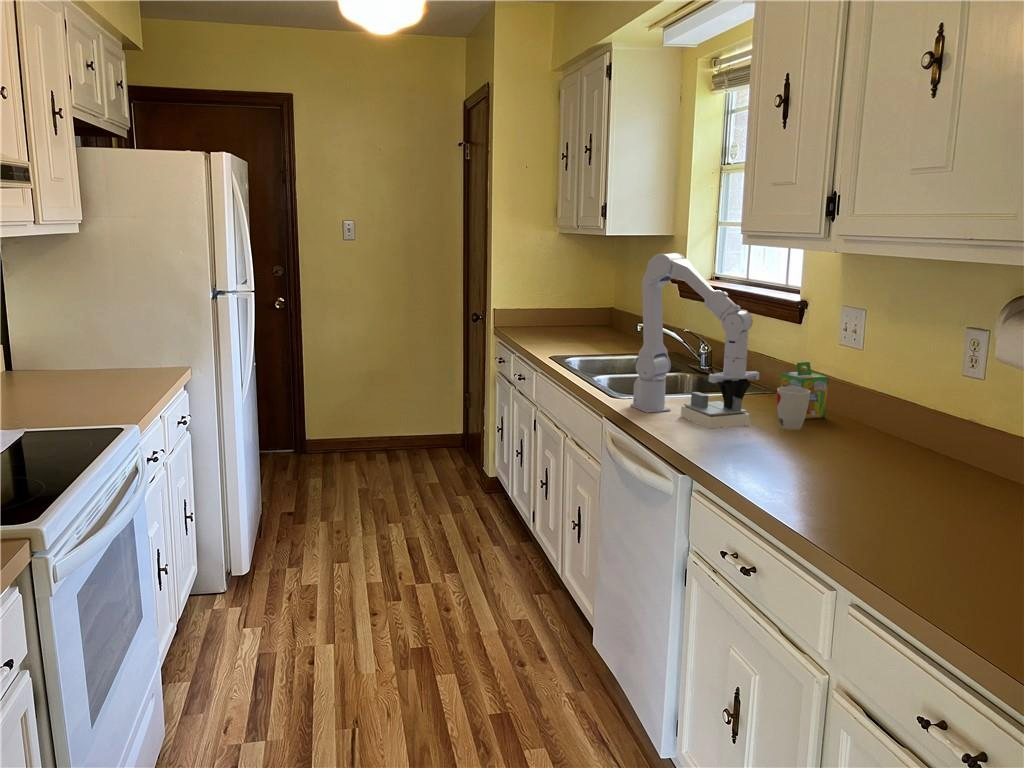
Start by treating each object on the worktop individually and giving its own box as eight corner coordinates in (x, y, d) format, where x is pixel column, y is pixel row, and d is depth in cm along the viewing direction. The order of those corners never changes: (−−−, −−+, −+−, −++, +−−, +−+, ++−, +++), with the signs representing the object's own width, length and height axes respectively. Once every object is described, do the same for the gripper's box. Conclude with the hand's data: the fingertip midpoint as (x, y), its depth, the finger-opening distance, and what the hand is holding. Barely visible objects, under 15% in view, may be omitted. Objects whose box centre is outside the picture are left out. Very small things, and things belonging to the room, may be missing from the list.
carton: (680, 416, 221) (681, 406, 220) (717, 413, 225) (718, 402, 224) (710, 428, 208) (711, 417, 207) (749, 425, 212) (749, 414, 211)
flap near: (683, 405, 219) (684, 392, 219) (701, 403, 221) (701, 390, 221) (710, 415, 208) (710, 401, 207) (728, 413, 210) (729, 400, 209)
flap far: (702, 403, 221) (702, 390, 221) (719, 402, 223) (720, 389, 223) (729, 413, 210) (730, 400, 209) (747, 412, 212) (748, 398, 211)
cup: (779, 422, 216) (782, 385, 214) (810, 426, 211) (814, 389, 209) (770, 428, 209) (773, 390, 207) (802, 432, 205) (805, 394, 203)
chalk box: (800, 420, 218) (804, 366, 215) (777, 413, 226) (781, 361, 223) (826, 417, 221) (831, 364, 218) (803, 410, 229) (807, 359, 226)
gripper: (721, 360, 204) (718, 412, 207) (768, 357, 210) (764, 408, 212) (705, 356, 211) (702, 407, 214) (751, 353, 216) (747, 403, 219)
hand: (732, 407), depth 213 cm, fingers closed on flap far, 2 cm apart
